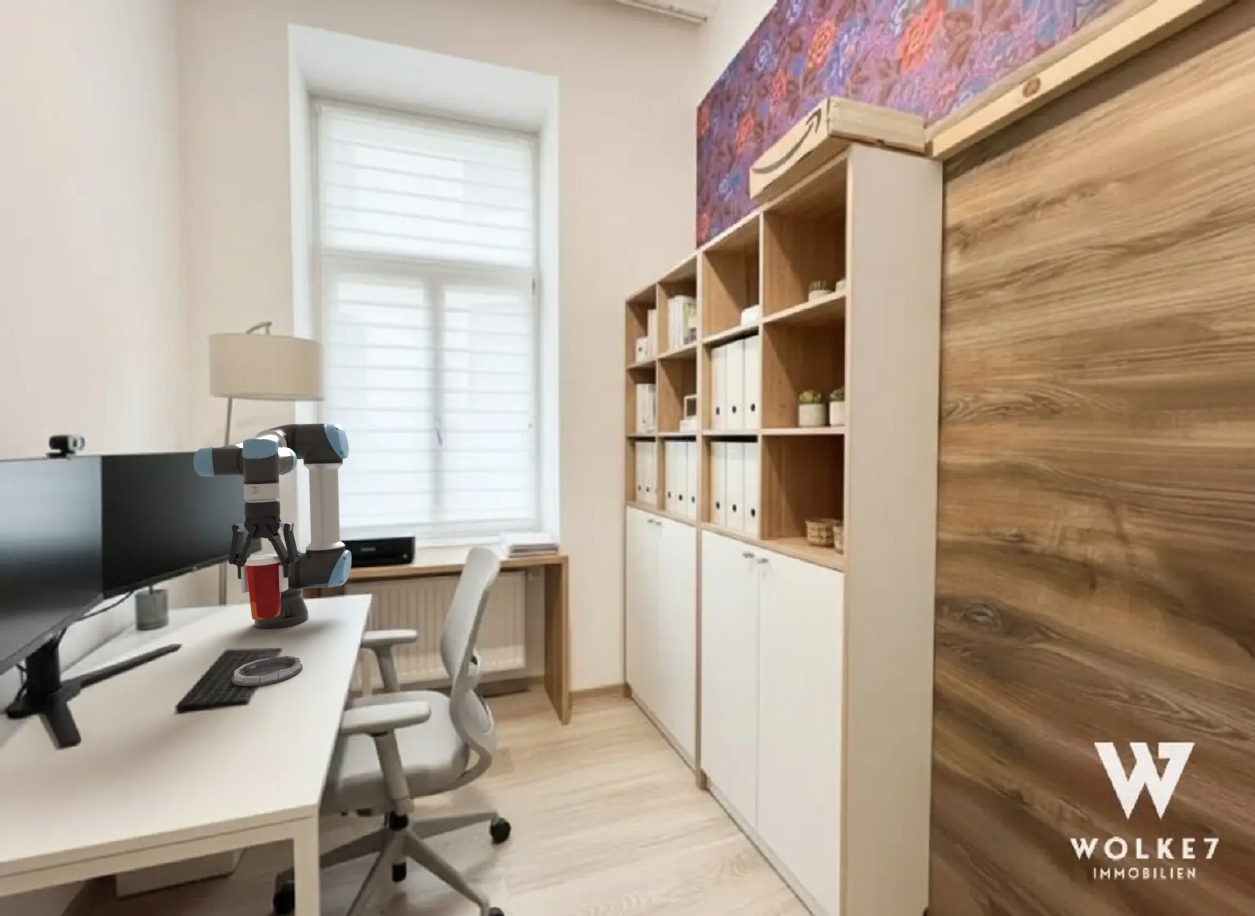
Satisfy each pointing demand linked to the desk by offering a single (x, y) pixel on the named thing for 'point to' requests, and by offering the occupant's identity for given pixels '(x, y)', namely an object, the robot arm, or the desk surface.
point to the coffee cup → (264, 586)
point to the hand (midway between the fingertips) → (265, 591)
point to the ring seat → (267, 671)
